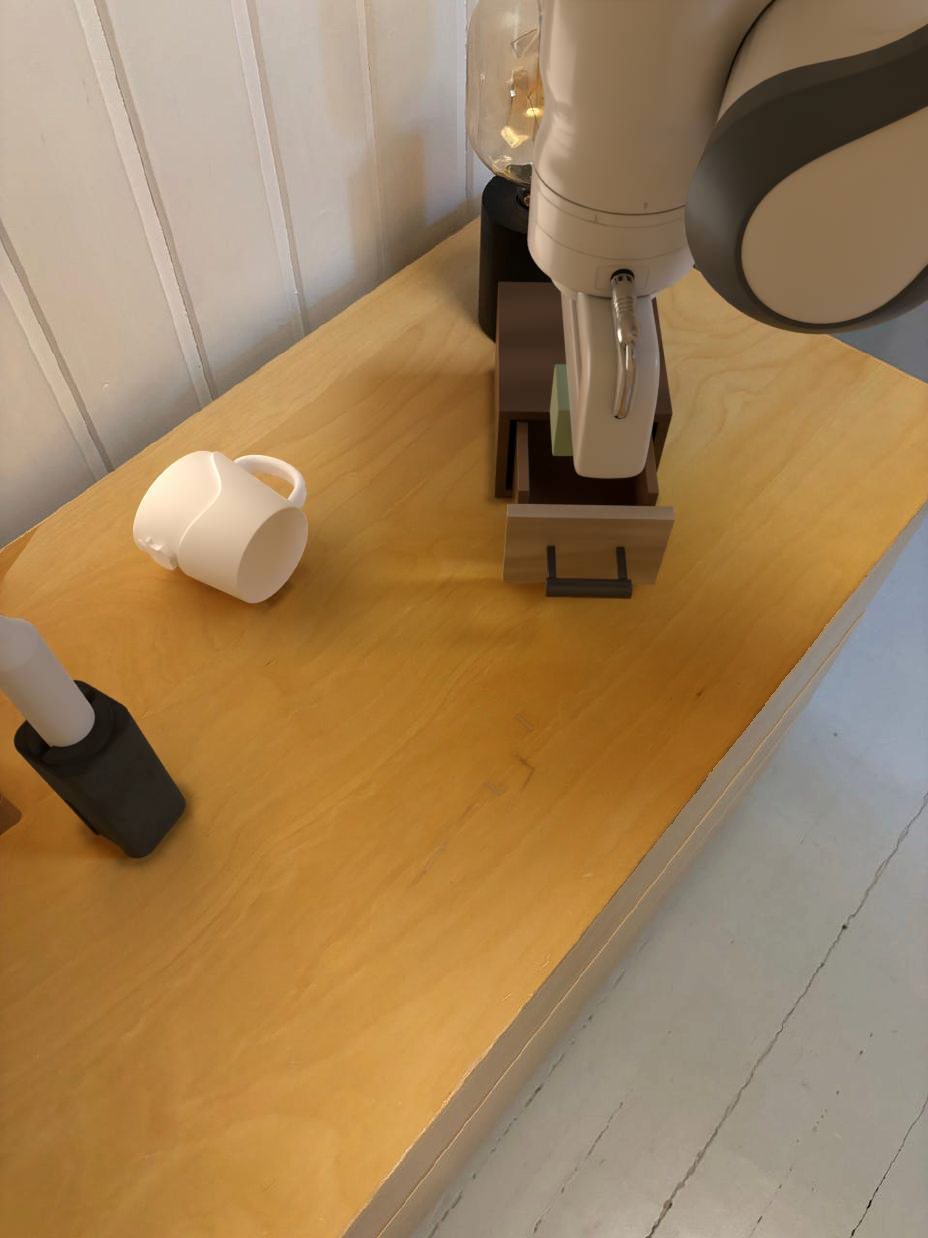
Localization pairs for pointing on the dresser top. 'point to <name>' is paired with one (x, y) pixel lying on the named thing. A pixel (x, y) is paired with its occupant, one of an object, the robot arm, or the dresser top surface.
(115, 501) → the dresser top surface
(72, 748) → the candle
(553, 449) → the block
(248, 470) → the mug
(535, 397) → the cabinet
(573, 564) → the drawer
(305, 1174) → the dresser top surface
